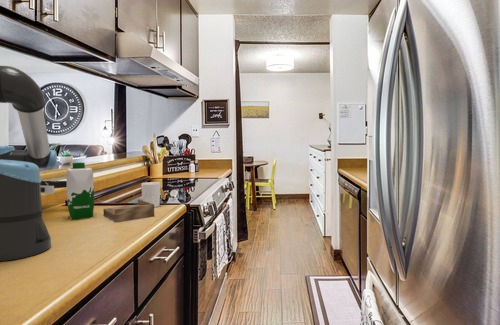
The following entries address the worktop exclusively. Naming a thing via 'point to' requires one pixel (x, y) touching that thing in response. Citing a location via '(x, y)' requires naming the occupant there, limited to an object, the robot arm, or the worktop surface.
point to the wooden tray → (130, 211)
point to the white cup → (151, 192)
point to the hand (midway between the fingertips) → (68, 187)
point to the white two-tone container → (80, 191)
